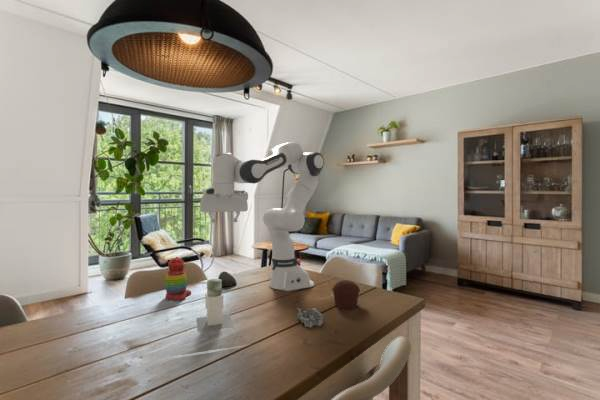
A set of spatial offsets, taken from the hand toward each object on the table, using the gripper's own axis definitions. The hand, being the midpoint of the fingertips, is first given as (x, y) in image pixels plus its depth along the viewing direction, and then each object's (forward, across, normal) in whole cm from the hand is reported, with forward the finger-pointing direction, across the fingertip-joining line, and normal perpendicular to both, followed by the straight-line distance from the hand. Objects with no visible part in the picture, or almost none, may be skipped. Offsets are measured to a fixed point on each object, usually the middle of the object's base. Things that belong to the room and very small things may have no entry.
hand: (224, 222), depth 137 cm
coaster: (+34, +6, +24) cm, 42 cm away
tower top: (+28, +6, +24) cm, 38 cm away
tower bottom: (+34, +6, +24) cm, 42 cm away
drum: (+24, +6, +24) cm, 34 cm away
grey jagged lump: (+35, -27, +33) cm, 55 cm away
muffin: (+34, -47, +23) cm, 63 cm away
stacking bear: (+34, +20, -12) cm, 42 cm away
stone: (+34, -3, -22) cm, 41 cm away
